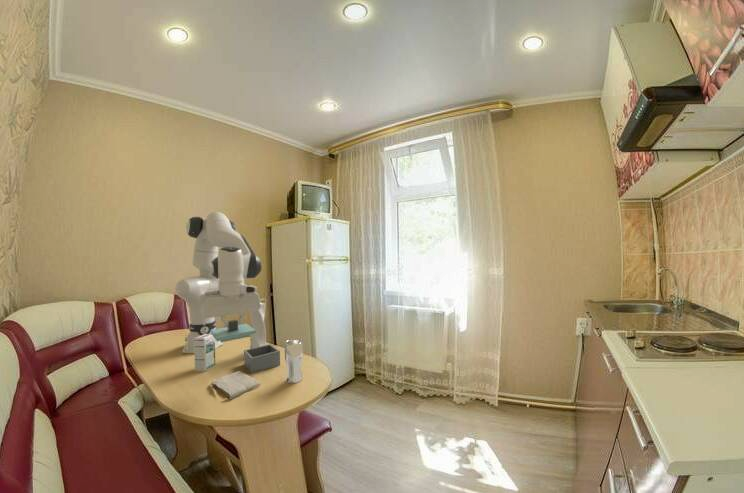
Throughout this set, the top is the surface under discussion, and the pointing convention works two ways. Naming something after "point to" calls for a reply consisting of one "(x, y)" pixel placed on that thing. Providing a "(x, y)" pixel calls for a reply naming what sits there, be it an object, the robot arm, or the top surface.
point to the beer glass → (294, 360)
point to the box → (261, 358)
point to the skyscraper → (258, 327)
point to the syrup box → (204, 352)
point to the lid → (232, 332)
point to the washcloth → (235, 384)
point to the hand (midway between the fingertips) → (232, 325)
